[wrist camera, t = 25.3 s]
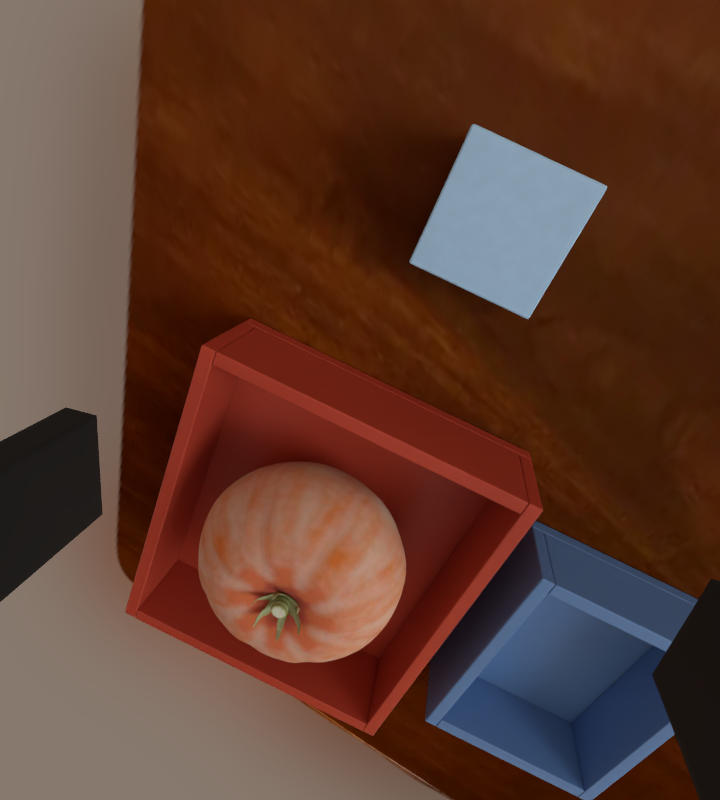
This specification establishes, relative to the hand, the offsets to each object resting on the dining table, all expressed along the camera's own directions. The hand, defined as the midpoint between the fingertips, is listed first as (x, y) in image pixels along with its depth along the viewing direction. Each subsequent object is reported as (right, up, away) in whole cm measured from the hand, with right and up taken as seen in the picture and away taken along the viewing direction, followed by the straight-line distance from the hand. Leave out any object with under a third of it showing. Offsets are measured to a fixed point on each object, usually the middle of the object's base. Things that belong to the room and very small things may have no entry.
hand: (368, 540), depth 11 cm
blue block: (+6, +11, +11) cm, 17 cm away
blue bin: (+12, -11, +19) cm, 25 cm away
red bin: (-2, -4, +19) cm, 20 cm away
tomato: (-2, -4, +19) cm, 19 cm away
